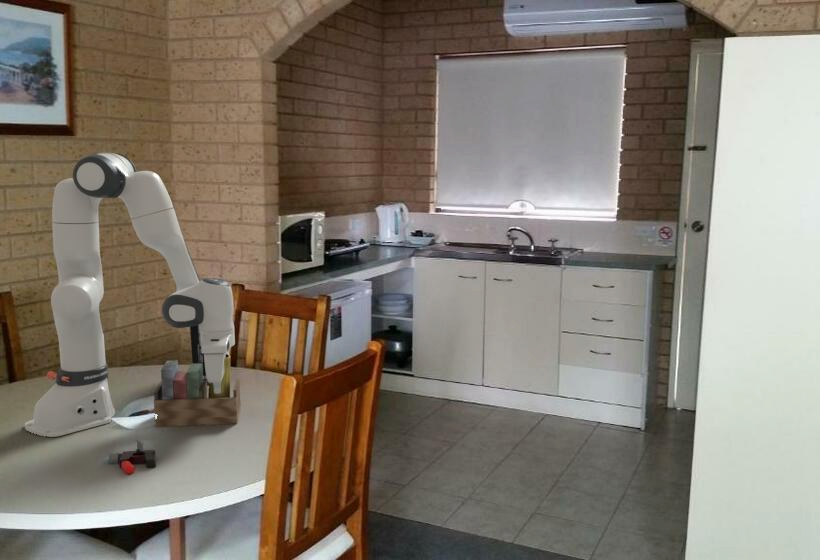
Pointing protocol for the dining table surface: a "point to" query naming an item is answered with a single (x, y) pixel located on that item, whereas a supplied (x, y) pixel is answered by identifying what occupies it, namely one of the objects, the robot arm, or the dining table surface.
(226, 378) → the vase
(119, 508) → the dining table surface
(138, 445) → the toy gun
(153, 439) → the dining table surface
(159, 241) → the robot arm
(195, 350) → the graphics card box
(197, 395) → the wooden desk organizer
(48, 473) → the dining table surface
